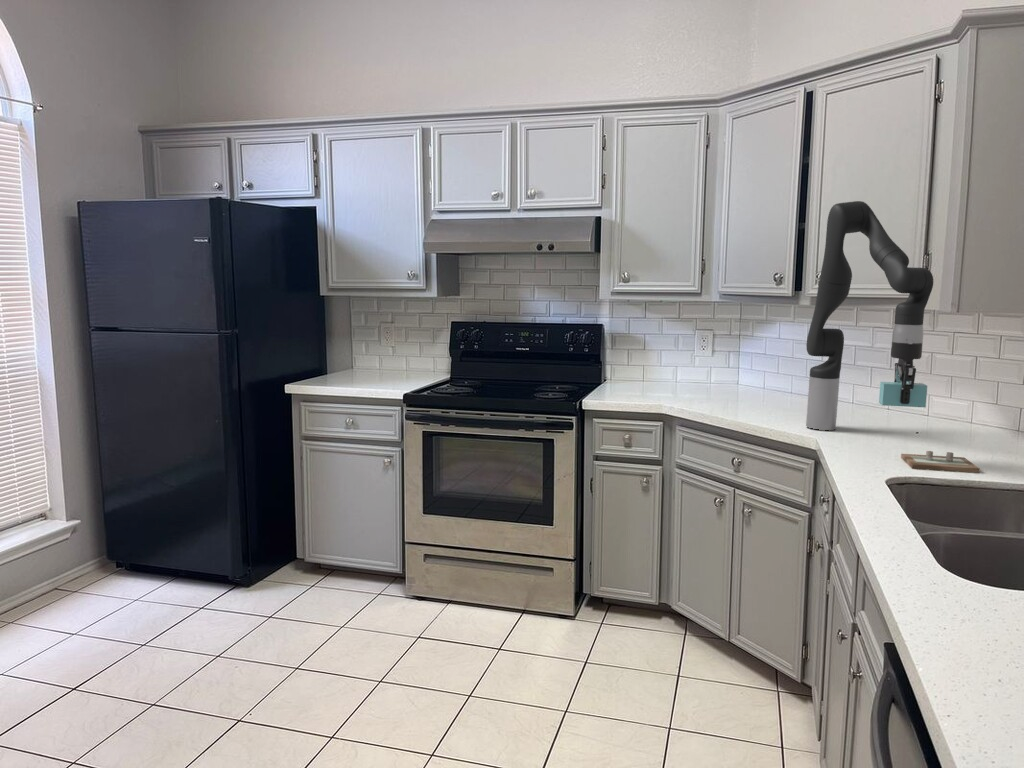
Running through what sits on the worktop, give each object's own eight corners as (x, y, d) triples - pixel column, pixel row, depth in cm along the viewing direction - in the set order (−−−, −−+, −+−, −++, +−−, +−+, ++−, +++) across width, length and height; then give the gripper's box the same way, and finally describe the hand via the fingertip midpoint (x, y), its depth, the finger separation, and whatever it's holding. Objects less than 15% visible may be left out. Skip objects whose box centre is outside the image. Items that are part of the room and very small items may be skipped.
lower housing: (878, 402, 214) (880, 381, 214) (920, 404, 212) (922, 383, 211) (882, 405, 210) (884, 383, 209) (925, 407, 207) (927, 385, 206)
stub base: (900, 457, 214) (902, 445, 213) (964, 461, 210) (965, 449, 209) (912, 468, 202) (913, 455, 202) (979, 473, 198) (980, 459, 198)
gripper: (886, 338, 216) (882, 397, 218) (898, 342, 202) (893, 405, 205) (915, 339, 214) (910, 399, 216) (929, 343, 200) (923, 406, 203)
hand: (902, 401), depth 210 cm, fingers closed on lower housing, 5 cm apart
